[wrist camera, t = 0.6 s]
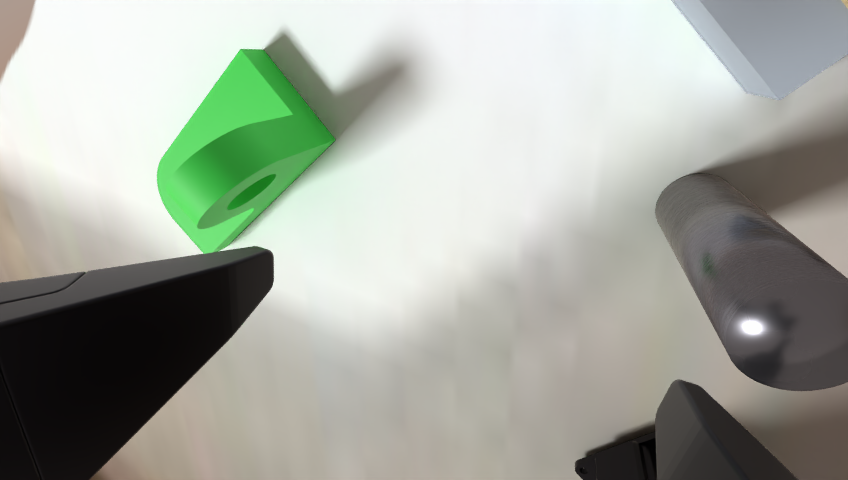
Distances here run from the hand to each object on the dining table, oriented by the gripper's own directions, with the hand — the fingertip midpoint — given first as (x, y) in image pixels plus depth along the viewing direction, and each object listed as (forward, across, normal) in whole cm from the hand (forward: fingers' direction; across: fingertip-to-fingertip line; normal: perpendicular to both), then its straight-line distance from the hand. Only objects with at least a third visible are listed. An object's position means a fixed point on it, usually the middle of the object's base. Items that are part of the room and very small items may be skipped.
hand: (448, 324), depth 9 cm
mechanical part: (+14, +16, +3) cm, 22 cm away
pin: (+14, -8, 0) cm, 16 cm away
